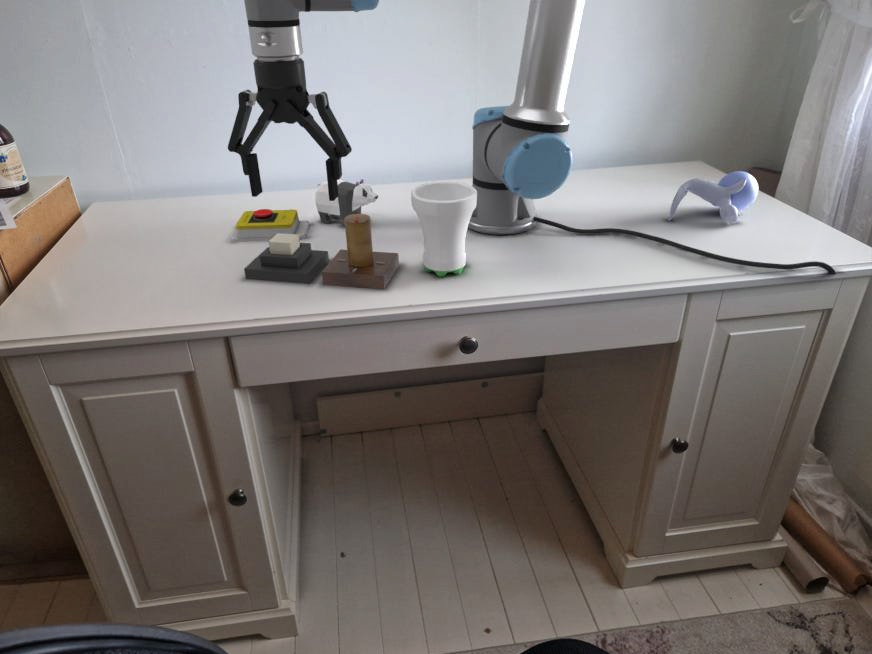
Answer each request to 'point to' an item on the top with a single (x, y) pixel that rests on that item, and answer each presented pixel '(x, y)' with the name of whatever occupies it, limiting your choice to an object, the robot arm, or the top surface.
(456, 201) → the cup
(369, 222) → the volume knob
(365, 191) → the giant panda
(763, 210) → the top surface
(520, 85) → the robot arm
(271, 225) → the emergency button
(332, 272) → the volume panel
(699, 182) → the seal
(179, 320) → the top surface
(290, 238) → the cream square push button
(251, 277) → the grey stepped base
